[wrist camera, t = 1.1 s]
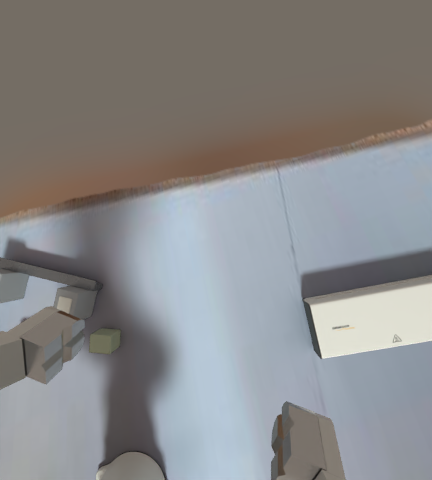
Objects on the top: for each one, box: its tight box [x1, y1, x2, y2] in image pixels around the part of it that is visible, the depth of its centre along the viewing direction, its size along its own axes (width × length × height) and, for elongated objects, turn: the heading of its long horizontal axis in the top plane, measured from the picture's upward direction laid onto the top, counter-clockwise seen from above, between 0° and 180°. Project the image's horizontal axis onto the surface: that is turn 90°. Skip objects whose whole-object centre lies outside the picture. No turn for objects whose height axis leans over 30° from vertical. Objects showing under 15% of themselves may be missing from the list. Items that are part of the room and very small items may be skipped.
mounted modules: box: [0, 268, 97, 320], centre depth 56 cm, size 7×24×7 cm, turn 78°
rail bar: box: [0, 257, 103, 291], centre depth 58 cm, size 2×26×3 cm, turn 78°
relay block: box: [89, 328, 121, 354], centre depth 55 cm, size 4×5×4 cm
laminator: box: [303, 275, 432, 359], centre depth 49 cm, size 34×12×6 cm, turn 102°
